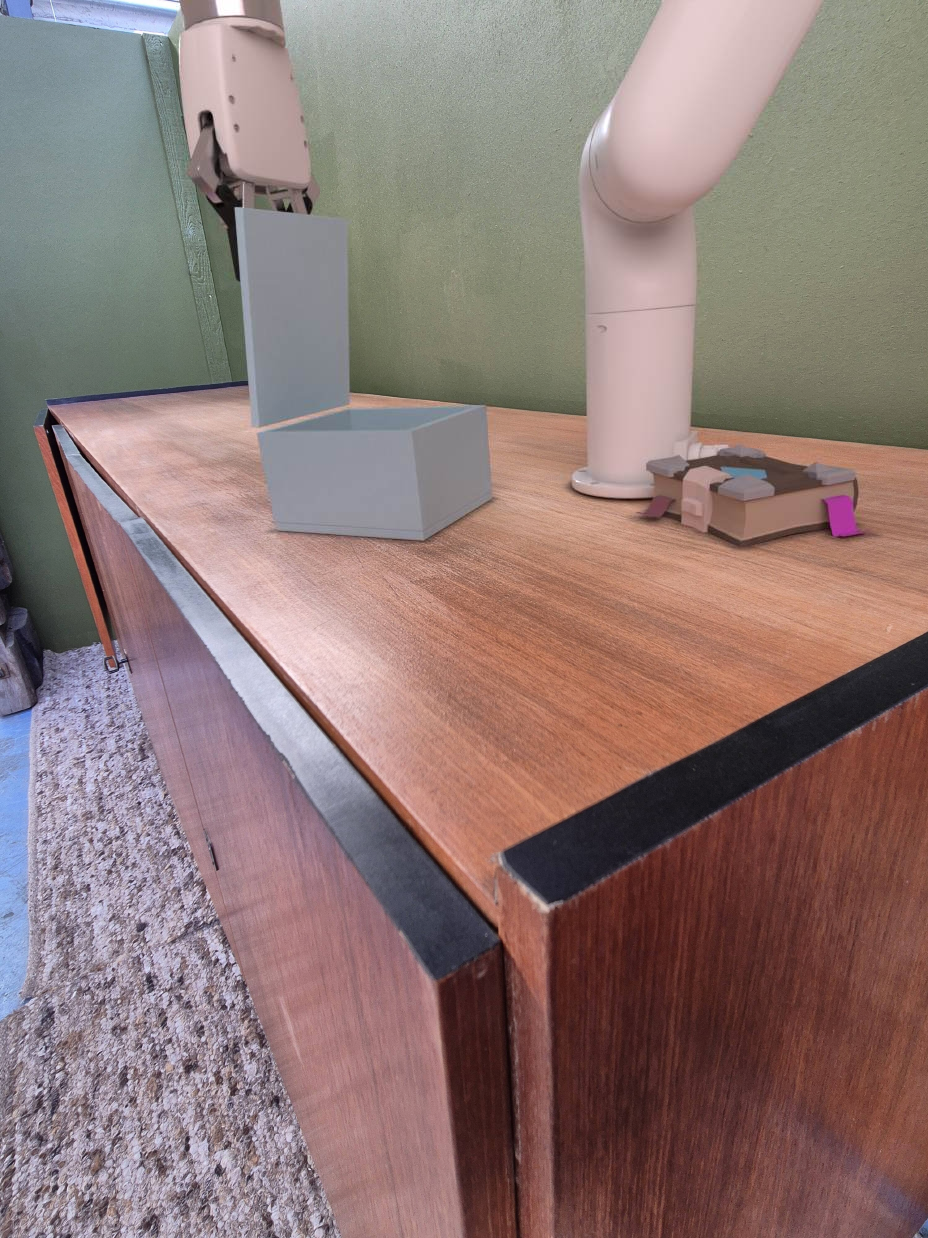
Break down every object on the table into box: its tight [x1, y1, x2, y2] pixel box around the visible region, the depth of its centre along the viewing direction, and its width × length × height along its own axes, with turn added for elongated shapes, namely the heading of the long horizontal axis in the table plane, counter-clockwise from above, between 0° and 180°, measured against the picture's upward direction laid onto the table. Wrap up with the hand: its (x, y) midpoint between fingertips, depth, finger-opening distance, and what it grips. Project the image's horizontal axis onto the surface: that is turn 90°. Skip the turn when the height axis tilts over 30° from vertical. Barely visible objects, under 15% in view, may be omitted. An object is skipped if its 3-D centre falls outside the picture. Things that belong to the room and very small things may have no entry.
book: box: [635, 443, 867, 549], centre depth 57 cm, size 20×12×5 cm, turn 20°
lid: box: [235, 207, 351, 428], centre depth 64 cm, size 16×14×5 cm
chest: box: [256, 404, 493, 542], centre depth 65 cm, size 16×14×9 cm
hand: (275, 277), depth 62 cm, fingers closed on lid, 5 cm apart
